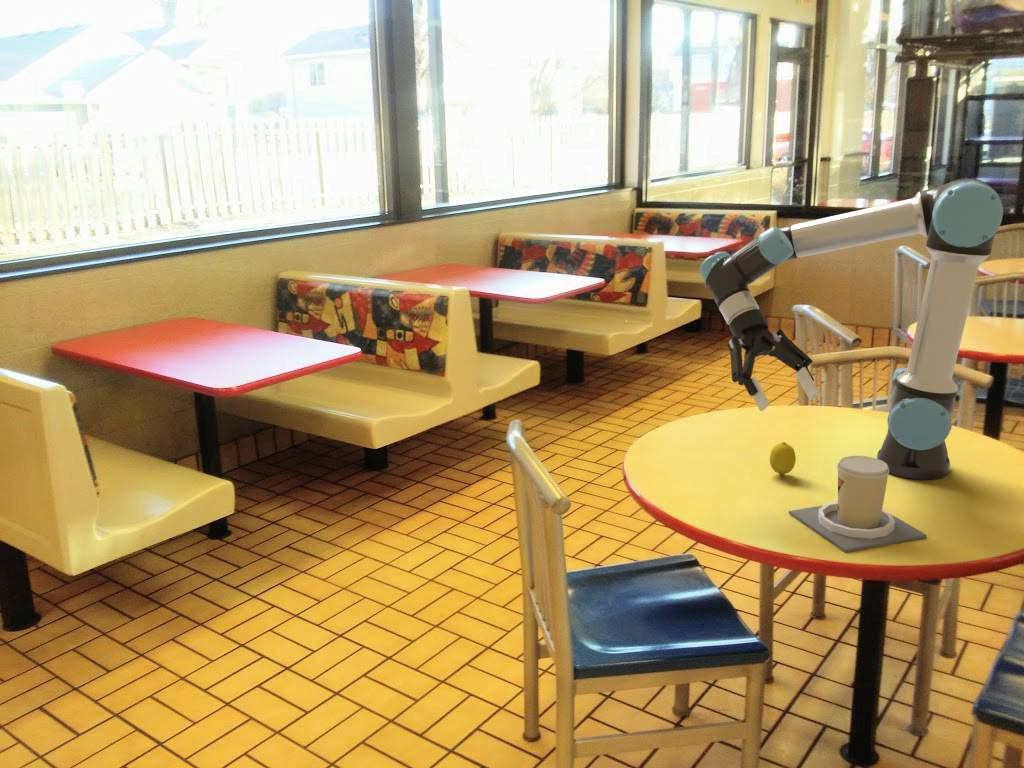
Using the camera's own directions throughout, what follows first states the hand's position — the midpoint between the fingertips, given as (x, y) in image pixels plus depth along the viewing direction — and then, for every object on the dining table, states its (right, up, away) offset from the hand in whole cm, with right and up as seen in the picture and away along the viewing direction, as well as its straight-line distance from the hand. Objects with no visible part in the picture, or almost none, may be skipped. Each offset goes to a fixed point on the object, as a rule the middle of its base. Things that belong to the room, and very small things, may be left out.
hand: (790, 402), depth 183 cm
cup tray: (+10, -24, -8) cm, 27 cm away
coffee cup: (+11, -23, -7) cm, 27 cm away
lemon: (+3, -17, +17) cm, 24 cm away
